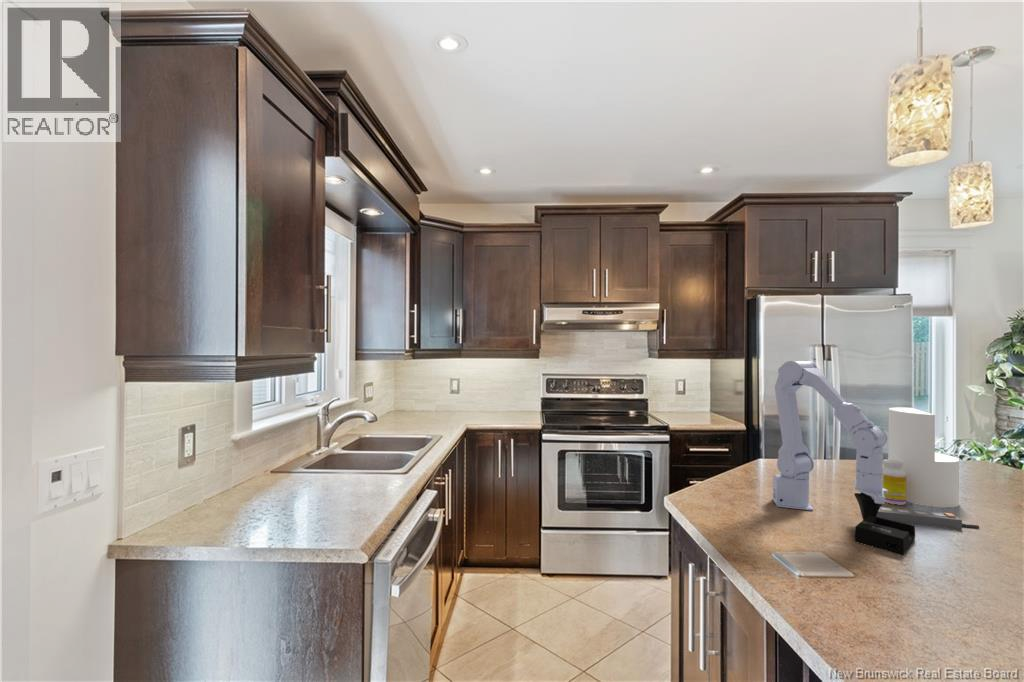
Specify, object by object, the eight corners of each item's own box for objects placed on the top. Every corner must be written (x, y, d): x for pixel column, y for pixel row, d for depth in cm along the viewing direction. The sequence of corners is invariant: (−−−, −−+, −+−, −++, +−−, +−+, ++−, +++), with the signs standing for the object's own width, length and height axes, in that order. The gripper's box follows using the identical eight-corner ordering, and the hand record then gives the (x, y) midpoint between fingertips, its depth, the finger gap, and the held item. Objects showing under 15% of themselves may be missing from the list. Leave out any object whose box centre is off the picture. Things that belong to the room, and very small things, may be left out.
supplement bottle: (911, 506, 144) (911, 464, 144) (886, 504, 145) (886, 463, 145) (897, 499, 151) (898, 459, 151) (874, 497, 152) (874, 457, 152)
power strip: (873, 519, 133) (873, 509, 133) (865, 513, 138) (866, 503, 138) (985, 531, 125) (985, 520, 125) (973, 525, 130) (973, 514, 130)
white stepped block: (899, 502, 147) (900, 413, 147) (880, 487, 163) (880, 406, 163) (970, 510, 141) (971, 417, 141) (943, 493, 157) (944, 409, 157)
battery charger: (903, 556, 110) (903, 539, 110) (854, 542, 118) (854, 526, 118) (915, 541, 119) (915, 525, 119) (868, 529, 126) (868, 514, 126)
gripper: (899, 480, 119) (899, 534, 119) (875, 466, 133) (875, 514, 133) (866, 477, 121) (866, 530, 121) (846, 464, 135) (845, 511, 135)
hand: (868, 522), depth 127 cm, fingers closed
